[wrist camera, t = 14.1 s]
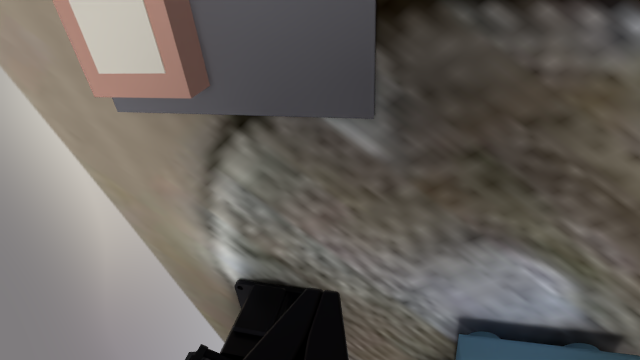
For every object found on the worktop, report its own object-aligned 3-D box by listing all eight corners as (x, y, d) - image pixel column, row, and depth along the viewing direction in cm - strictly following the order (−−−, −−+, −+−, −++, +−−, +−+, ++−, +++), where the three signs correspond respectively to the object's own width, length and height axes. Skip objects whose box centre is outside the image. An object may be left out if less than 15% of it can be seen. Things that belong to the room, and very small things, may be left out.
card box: (190, 98, 18) (93, 97, 19) (210, 85, 19) (119, 85, 21) (123, -136, 13) (0, -115, 14) (157, -127, 15) (44, -109, 16)
